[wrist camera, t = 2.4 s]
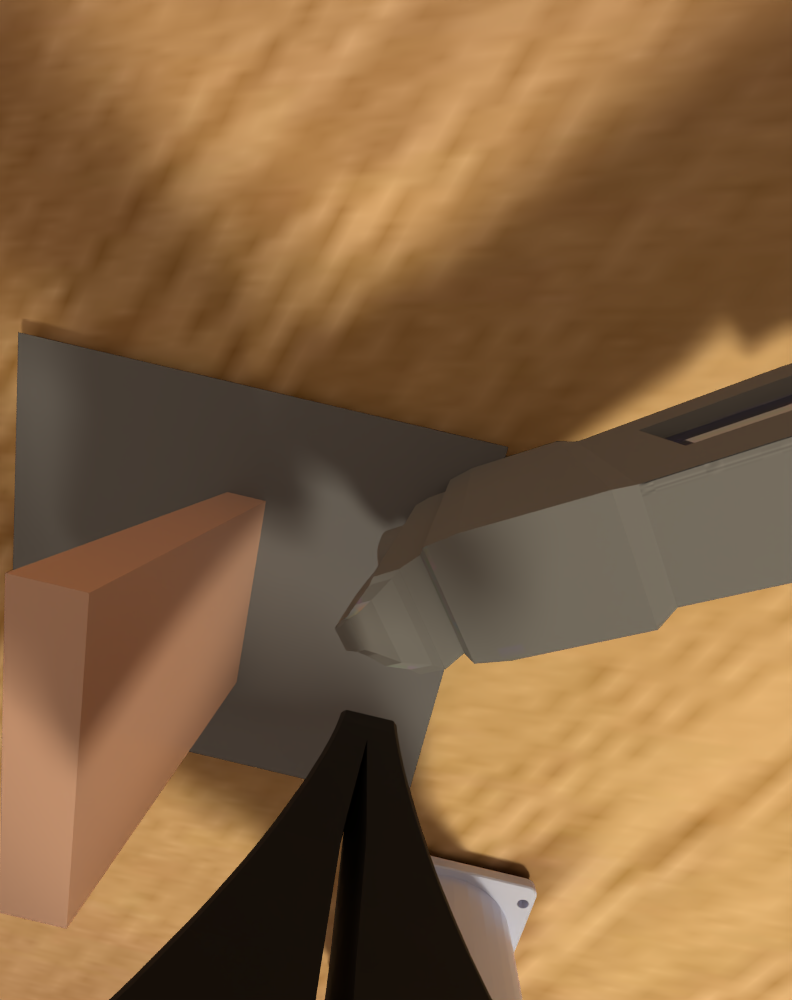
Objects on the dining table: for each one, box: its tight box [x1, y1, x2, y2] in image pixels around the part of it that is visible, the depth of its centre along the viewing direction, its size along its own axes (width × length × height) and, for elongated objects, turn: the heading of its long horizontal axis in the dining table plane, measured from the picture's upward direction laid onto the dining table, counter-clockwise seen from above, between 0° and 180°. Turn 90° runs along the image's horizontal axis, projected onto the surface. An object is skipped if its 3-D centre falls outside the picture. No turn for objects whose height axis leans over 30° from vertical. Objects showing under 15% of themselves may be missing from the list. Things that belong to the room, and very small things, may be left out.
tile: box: [0, 492, 266, 929], centre depth 11 cm, size 8×2×8 cm, turn 167°
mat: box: [13, 332, 508, 789], centre depth 16 cm, size 16×18×1 cm
